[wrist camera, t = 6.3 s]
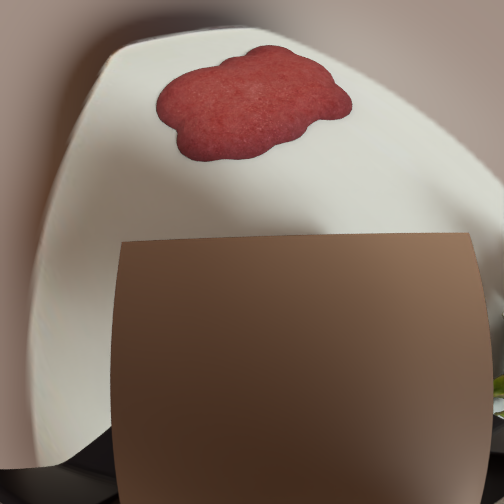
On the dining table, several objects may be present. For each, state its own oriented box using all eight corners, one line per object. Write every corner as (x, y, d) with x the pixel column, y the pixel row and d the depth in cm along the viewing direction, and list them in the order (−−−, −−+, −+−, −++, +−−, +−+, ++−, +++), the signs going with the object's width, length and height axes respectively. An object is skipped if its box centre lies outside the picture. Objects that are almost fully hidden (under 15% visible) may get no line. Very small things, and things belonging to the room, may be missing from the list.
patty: (280, 47, 28) (281, 33, 26) (371, 109, 24) (376, 93, 22) (140, 101, 24) (134, 86, 22) (208, 191, 20) (204, 174, 18)
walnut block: (320, 423, 14) (472, 530, 2) (228, 428, 14) (137, 574, 2) (317, 337, 16) (469, 232, 4) (226, 340, 16) (121, 242, 4)
